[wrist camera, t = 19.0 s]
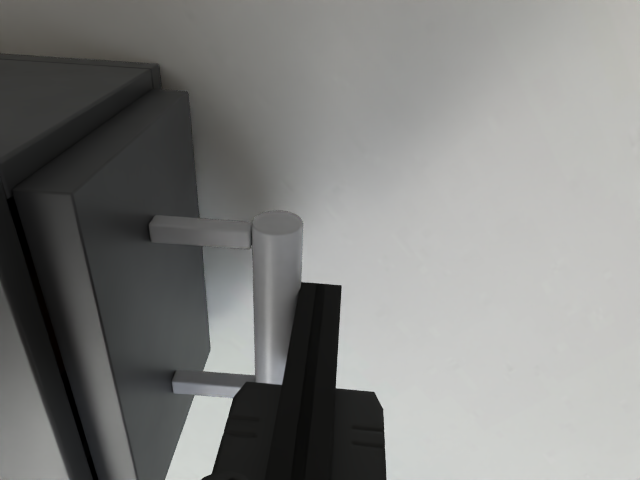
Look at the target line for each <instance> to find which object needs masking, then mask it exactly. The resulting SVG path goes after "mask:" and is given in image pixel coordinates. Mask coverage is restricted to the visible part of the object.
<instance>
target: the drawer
mask: <svg viewBox="0 0 640 480" xmlns="http://www.w3.org/2000/svg"><path fill="white" fill-rule="evenodd" d="M12 194H13V196H12V197H11V198H8V199H7V202H8V205H9V209H10V212H11V215H12V214H13V213H15V212H16V211H17V210H18V214H19V217H20V220H21V224H22V227H23V230H24V234H25V237H26V240H27V244H28V247H29V250H30V254H31V257H32V260H33V264H34V267H35V270H36V274H37V277H38V280H39V284H40V287H41V290H42V294H43V297H44V300H45V304H46V307H47V310H48V314H49V317H50V320H51V324H52V327H53V330H54V334H55V337H56V340H57V344H58V347H59V350H60V354H61V357H62V360H63V364H64V367H65V370H64V372H63V373H62V375H61V377H62V380H63V383H64V387H65V390H66V393H67V396H68V400H69V403H70V406H71V409H72V413H73V416H74V419H75V422H76V425H77V429H78V432H79V435H80V438H81V442H82V445H83V448H84V451H85V455H86V458H87V459H88V458H89V456H90V454H91V457H92V460H93V463H94V467H95V470H96V473H97V477H98V480H165V478H166V475H167V472H168V469H169V466H170V463H171V461H172V458H173V455H174V452H175V449H176V446H177V443H178V441H179V438H180V435H181V432H182V429H183V426H184V424H185V421H186V418H187V415H188V412H189V409H190V406H191V404H192V401H193V398H194V395H202V396H214V397H227V398H234V396H235V395H236V393H237V392H238V391H239V390H240V389H241V387H242V386H243V385H244V384H245V383H246V381H247V382H257V383H268V384H279V385H282V382H283V376H284V371H285V365H286V360H287V354H288V349H289V343H290V338H291V332H292V327H293V322H294V316H295V311H296V305H297V300H298V294H299V290H300V288H301V271H302V245H303V221H302V219H301V218H300V217H299V216H298V215H296V214H294V213H291V212H287V211H267V212H264V213H261V214H259V215H257V216H256V217H255V218H254V219H253V221H252V222H245V221H231V220H217V219H203V218H199V210H198V198H197V187H196V175H195V163H194V152H193V140H192V129H191V117H190V105H189V94H188V91H178V90H163V89H152V90H151V91H149V92H148V93H146V94H145V95H144V96H142V97H141V98H139V99H138V100H137V101H135V102H134V103H132V104H131V105H130V106H128V107H127V108H125V109H124V110H123V111H121V112H120V113H118V114H117V115H115V116H114V117H113V118H111V119H110V120H108V121H107V122H106V123H104V124H103V125H101V126H100V127H99V128H97V129H96V130H94V131H93V132H92V133H90V134H89V135H87V136H86V137H85V138H83V139H82V140H80V141H79V142H78V143H76V144H75V145H73V146H72V147H71V148H69V149H68V150H66V151H65V152H64V153H62V154H61V155H59V156H58V157H57V158H55V159H54V160H52V161H51V162H49V163H48V164H47V165H45V166H44V167H42V168H41V169H40V170H38V171H37V172H35V173H34V174H33V175H31V176H30V177H28V178H27V179H26V180H24V181H23V182H21V183H20V184H19V185H17V186H16V187H14V188H13V189H12ZM202 246H209V247H223V248H237V249H250V248H251V246H252V259H253V301H254V343H255V375H242V374H230V373H217V372H204V371H203V369H204V367H205V364H206V361H207V358H208V355H209V352H210V338H209V326H208V315H207V303H206V291H205V280H204V268H203V256H202Z"/></svg>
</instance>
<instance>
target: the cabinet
mask: <svg viewBox="0 0 640 480" xmlns="http://www.w3.org/2000/svg"><path fill="white" fill-rule="evenodd" d="M152 89H162V86H161V77H160V69H159V64H152V63H136V62H121V61H106V60H90V59H75V58H60V57H44V56H29V55H14V54H0V480H98V477H97V473H96V470H95V467H94V463H93V460H92V457H91V454H90V456H89V458H88V459H87V458H86V455H85V451H84V448H83V445H82V442H81V438H80V435H79V432H78V429H77V425H76V422H75V419H74V416H73V413H72V409H71V406H70V403H69V400H68V396H67V393H66V390H65V387H64V383H63V380H62V377H61V374H60V370H59V367H58V364H57V361H56V358H55V354H54V351H53V348H52V345H51V341H50V338H49V335H48V332H47V328H46V325H45V322H44V319H43V315H42V312H41V309H40V306H39V302H38V299H37V296H36V293H35V290H34V286H33V283H32V280H31V277H30V273H29V270H28V267H27V264H26V260H25V257H24V254H23V251H22V247H21V244H20V241H19V238H18V234H17V231H16V228H15V225H14V222H13V218H12V215H11V212H10V209H9V205H8V202H7V199H8V198H11V197H12V196H13V194H12V189H13V188H14V187H16V186H17V185H19V184H20V183H21V182H23V181H24V180H26V179H27V178H28V177H30V176H31V175H33V174H34V173H35V172H37V171H38V170H40V169H41V168H42V167H44V166H45V165H47V164H48V163H49V162H51V161H52V160H54V159H55V158H57V157H58V156H59V155H61V154H62V153H64V152H65V151H66V150H68V149H69V148H71V147H72V146H73V145H75V144H76V143H78V142H79V141H80V140H82V139H83V138H85V137H86V136H87V135H89V134H90V133H92V132H93V131H94V130H96V129H97V128H99V127H100V126H101V125H103V124H104V123H106V122H107V121H108V120H110V119H111V118H113V117H114V116H115V115H117V114H118V113H120V112H121V111H123V110H124V109H125V108H127V107H128V106H130V105H131V104H132V103H134V102H135V101H137V100H138V99H139V98H141V97H142V96H144V95H145V94H146V93H148V92H149V91H151V90H152Z"/></svg>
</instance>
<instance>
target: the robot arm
mask: <svg viewBox="0 0 640 480" xmlns="http://www.w3.org/2000/svg"><path fill="white" fill-rule="evenodd" d="M340 303H341V285H329V284H317V283H305V282H301V288H300V290H299V294H298V300H297V305H296V311H295V316H294V322H293V327H292V332H291V338H290V343H289V349H288V354H287V360H286V365H285V371H284V376H283V382H282V385H279V384H268V383H257V382H247V381H246V383H245V384H244V385H243V386H242V387H241V389H240V390H239V391H238V392H237V393H236V395H235V396H234V398H233V401H232V405H231V408H230V412H229V416H228V419H227V422H226V426H225V429H224V434H223V436H222V440H221V443H220V447H219V450H218V454H217V457H216V461H215V464H214V468H213V471H212V474H211V475H208V476H206V477H204V478H203V479H202V480H386V460H385V439H384V417H383V408H382V406H381V404H380V402H379V401H378V399H377V397H376V395H375V393H374V392H368V391H357V390H347V389H336V372H337V354H338V337H339V320H340Z"/></svg>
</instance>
